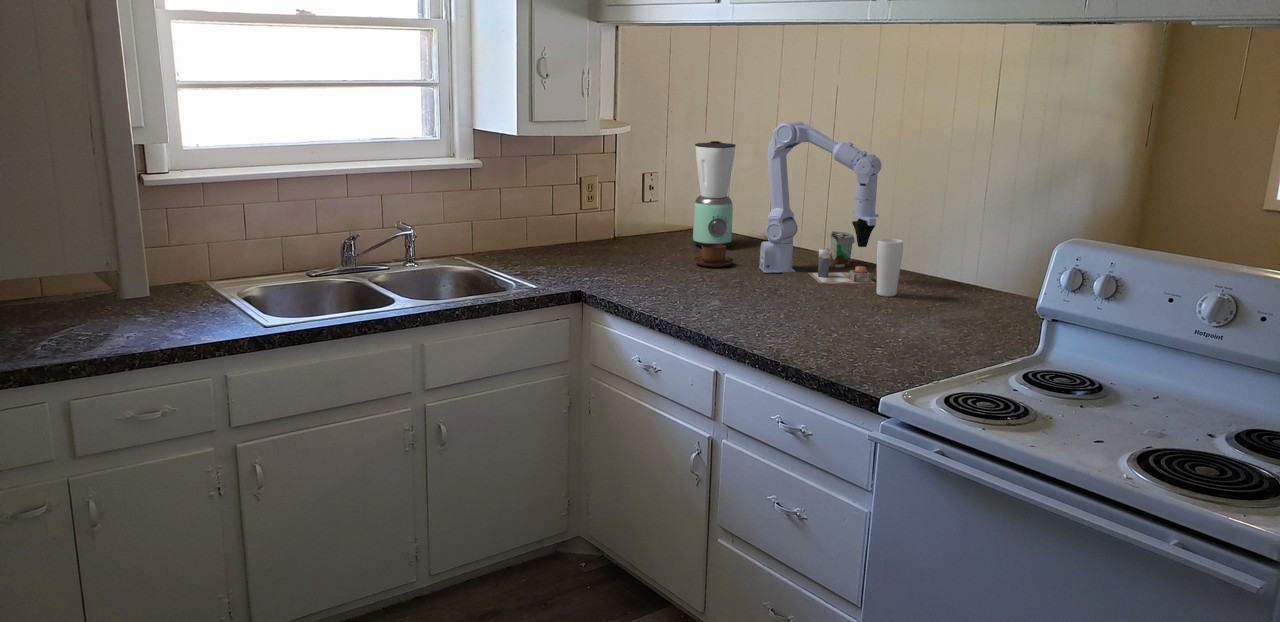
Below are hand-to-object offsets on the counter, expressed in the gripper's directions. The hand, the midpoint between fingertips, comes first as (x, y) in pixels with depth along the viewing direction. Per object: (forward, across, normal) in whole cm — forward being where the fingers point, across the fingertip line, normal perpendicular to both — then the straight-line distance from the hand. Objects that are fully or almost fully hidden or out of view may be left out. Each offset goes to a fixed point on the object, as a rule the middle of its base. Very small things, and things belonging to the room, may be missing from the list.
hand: (862, 246), depth 279 cm
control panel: (+10, +4, +4) cm, 12 cm away
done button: (+8, 0, 0) cm, 8 cm away
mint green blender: (+11, +56, +34) cm, 67 cm away
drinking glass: (+11, -16, -2) cm, 19 cm away
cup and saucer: (+11, +25, +38) cm, 47 cm away
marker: (+10, +4, +10) cm, 14 cm away
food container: (+11, +22, -2) cm, 24 cm away
